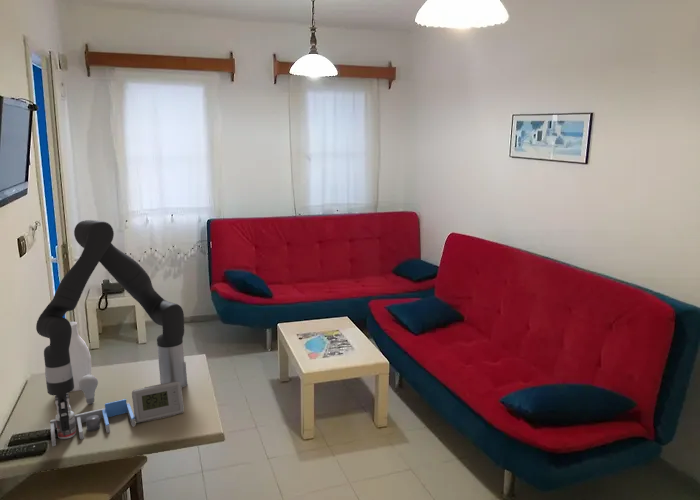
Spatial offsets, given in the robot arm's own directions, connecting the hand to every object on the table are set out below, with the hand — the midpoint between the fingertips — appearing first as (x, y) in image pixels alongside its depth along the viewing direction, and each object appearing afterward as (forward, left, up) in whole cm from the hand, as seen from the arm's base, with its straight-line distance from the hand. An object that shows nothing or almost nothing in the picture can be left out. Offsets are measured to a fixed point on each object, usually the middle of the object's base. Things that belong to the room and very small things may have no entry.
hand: (65, 424), depth 175 cm
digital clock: (-28, +2, -4) cm, 29 cm away
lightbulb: (-9, -19, -4) cm, 21 cm away
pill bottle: (0, 0, -4) cm, 4 cm away
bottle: (-6, -37, -4) cm, 38 cm away
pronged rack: (-8, -1, -4) cm, 9 cm away
